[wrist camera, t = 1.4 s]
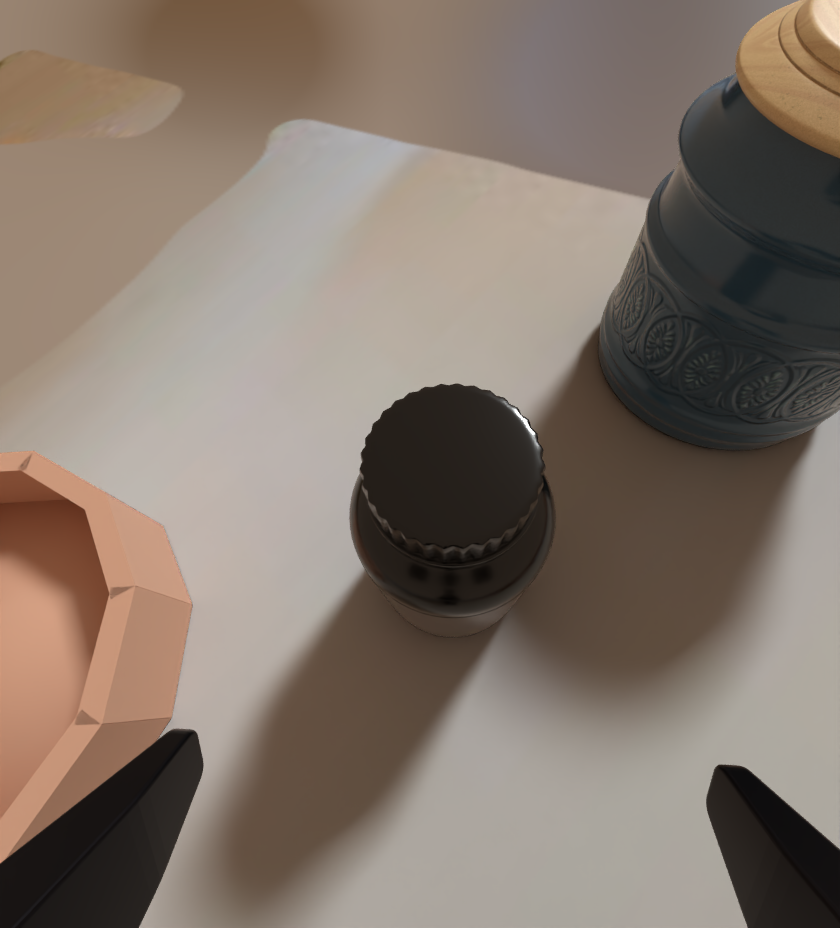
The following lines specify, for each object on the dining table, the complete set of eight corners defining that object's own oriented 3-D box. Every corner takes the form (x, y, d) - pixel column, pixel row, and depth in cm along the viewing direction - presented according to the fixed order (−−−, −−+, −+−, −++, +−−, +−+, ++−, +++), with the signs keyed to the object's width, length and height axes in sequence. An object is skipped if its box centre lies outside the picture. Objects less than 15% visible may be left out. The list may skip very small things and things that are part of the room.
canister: (619, 263, 31) (796, -180, 15) (831, 313, 28) (1324, -173, 12) (567, 412, 26) (752, -21, 10) (819, 491, 23) (1637, 55, 7)
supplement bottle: (369, 519, 24) (304, 378, 13) (495, 489, 24) (533, 326, 13) (398, 658, 20) (342, 624, 10) (541, 620, 21) (639, 547, 10)
